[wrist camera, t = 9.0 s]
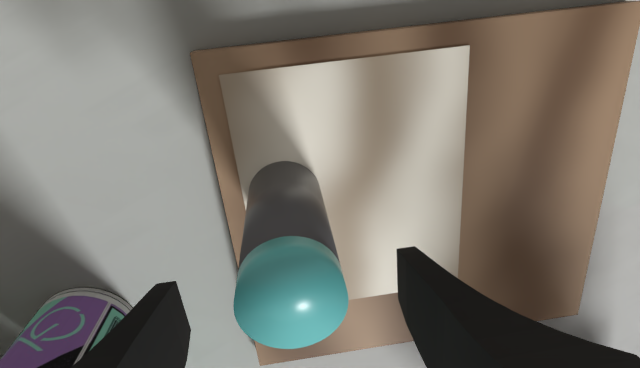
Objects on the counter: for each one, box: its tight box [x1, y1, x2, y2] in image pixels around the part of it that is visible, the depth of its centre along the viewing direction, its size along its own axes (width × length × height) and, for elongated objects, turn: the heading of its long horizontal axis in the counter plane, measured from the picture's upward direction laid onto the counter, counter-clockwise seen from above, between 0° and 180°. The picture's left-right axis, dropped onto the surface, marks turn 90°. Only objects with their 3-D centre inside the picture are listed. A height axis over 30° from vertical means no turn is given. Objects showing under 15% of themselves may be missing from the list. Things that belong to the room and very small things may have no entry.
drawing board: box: [190, 1, 640, 366], centre depth 21 cm, size 20×18×1 cm
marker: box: [234, 161, 348, 349], centre depth 16 cm, size 4×4×8 cm
